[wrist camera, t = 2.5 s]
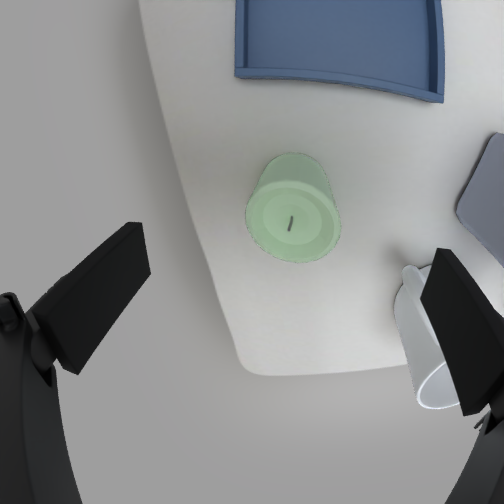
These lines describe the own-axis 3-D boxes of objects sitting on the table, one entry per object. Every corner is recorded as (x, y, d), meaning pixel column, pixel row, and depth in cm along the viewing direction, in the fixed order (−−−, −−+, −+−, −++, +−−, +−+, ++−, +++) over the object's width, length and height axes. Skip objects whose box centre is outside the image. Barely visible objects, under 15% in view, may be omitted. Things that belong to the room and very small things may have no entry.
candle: (287, 227, 23) (280, 289, 16) (247, 178, 21) (219, 220, 14) (340, 193, 21) (359, 243, 14) (301, 139, 19) (302, 160, 12)
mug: (354, 269, 24) (374, 363, 15) (429, 212, 20) (492, 285, 11) (412, 339, 27) (434, 418, 18) (473, 296, 23) (513, 369, 14)
